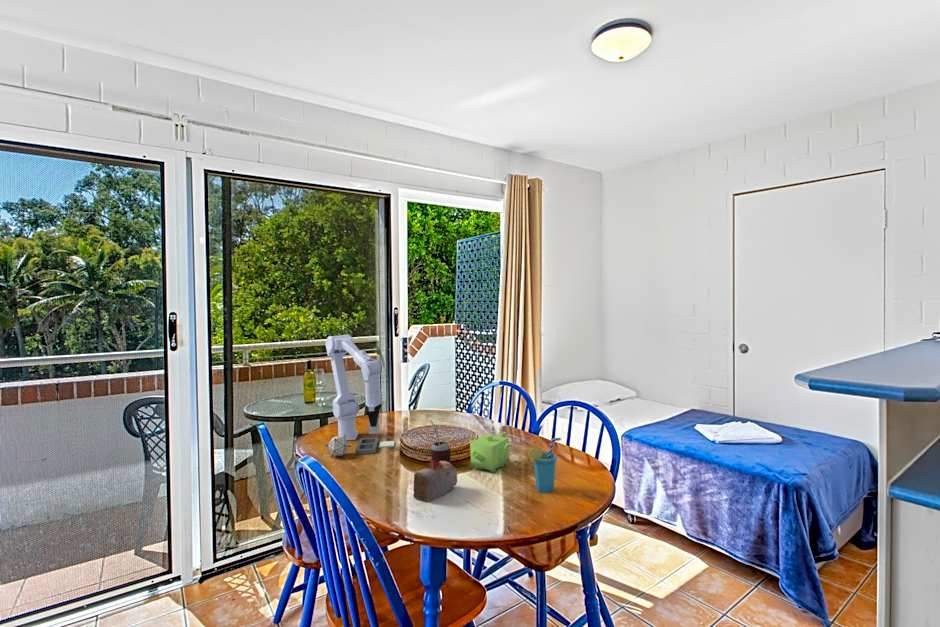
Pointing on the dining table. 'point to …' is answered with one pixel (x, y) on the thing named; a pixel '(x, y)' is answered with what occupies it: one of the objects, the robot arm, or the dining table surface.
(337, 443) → the game die
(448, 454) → the mate gourd
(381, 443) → the tray
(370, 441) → the metal frame
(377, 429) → the grey knob block
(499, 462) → the green knobbed block
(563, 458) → the dining table surface
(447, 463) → the food item
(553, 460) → the cup
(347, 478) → the dining table surface
